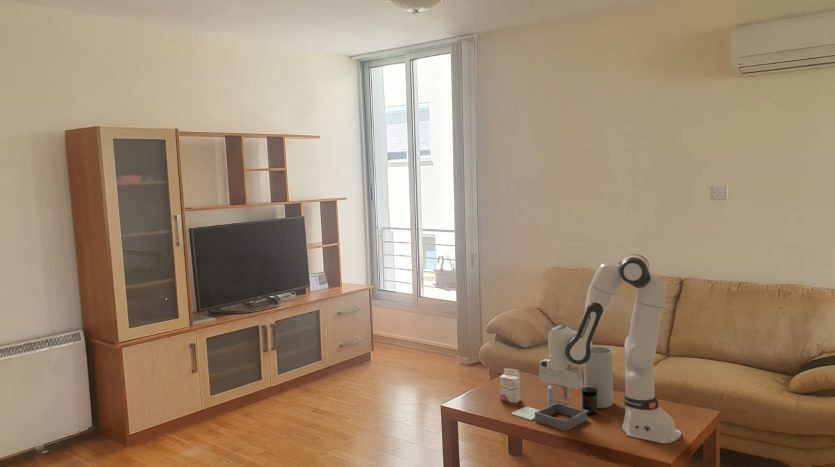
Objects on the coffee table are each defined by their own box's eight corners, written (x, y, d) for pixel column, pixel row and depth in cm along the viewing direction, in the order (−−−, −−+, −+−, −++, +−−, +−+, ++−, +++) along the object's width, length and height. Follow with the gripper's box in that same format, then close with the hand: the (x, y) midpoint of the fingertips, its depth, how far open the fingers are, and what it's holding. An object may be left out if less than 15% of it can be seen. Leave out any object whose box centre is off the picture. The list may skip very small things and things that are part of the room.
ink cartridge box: (500, 400, 293) (499, 370, 291) (504, 397, 297) (503, 367, 295) (516, 403, 288) (515, 372, 287) (521, 399, 292) (520, 369, 291)
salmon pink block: (570, 400, 264) (569, 384, 263) (563, 403, 261) (562, 387, 260) (560, 397, 268) (559, 381, 267) (553, 400, 264) (552, 384, 264)
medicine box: (565, 403, 285) (564, 385, 284) (566, 407, 281) (566, 388, 280) (547, 403, 286) (547, 385, 285) (548, 407, 282) (548, 388, 281)
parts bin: (586, 420, 265) (586, 411, 264) (565, 431, 254) (565, 421, 254) (556, 411, 276) (556, 402, 276) (535, 421, 266) (534, 412, 266)
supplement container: (600, 412, 273) (600, 389, 272) (593, 416, 268) (593, 393, 267) (586, 408, 278) (585, 386, 277) (579, 413, 273) (578, 390, 272)
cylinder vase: (618, 404, 281) (618, 350, 279) (601, 410, 274) (599, 355, 272) (596, 396, 292) (595, 345, 289) (579, 403, 285) (577, 350, 282)
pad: (546, 413, 274) (546, 412, 274) (530, 420, 267) (530, 419, 267) (526, 407, 282) (526, 406, 282) (511, 414, 275) (511, 413, 275)
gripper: (585, 365, 257) (586, 398, 258) (545, 357, 272) (546, 388, 274) (576, 369, 253) (578, 402, 254) (536, 361, 268) (538, 392, 269)
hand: (561, 395), depth 264 cm, fingers closed on salmon pink block, 5 cm apart
